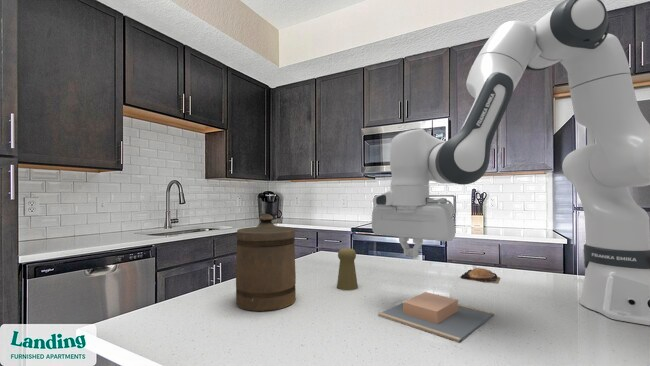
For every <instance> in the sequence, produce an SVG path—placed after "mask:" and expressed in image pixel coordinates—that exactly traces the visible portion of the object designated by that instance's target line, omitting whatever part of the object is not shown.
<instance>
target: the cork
mask: <svg viewBox="0 0 650 366" xmlns="http://www.w3.org/2000/svg"><path fill="white" fill-rule="evenodd" d="M356 257H357V252H356V250H355V249H354V248H349V247H345V248H341V249H339V250H338V252H337V258H338V259H339V265H338V266H339V267H338V272H337V273H338V275H337V282H336V283H337V284H336V288H337V289H338V290H342V291H355V290H357V289H358V287H359V286H358V279H357V272H356V271H357V270H356V265H355V260H356Z"/></svg>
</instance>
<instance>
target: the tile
mask: <svg viewBox="0 0 650 366" xmlns="http://www.w3.org/2000/svg"><path fill="white" fill-rule="evenodd" d="M402 303H403V314H407V315H410V316H413V317H416V318H420V319H423V320H426V321H429V322H433V323H436V324H438V323H440V322H441V321H443V320H444V319H446V318H448V317H449V316H451V315H452V314H454V313H456V312H457V311H458V304H459V300H458V299H457V298H452V297H448V296H444V295H439V294H435V293H431V292H428V291H424V292H422V293H420V294H417V295H416V296H414V297H411V298H409V299H407V300H405V301H403V302H402Z"/></svg>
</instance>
